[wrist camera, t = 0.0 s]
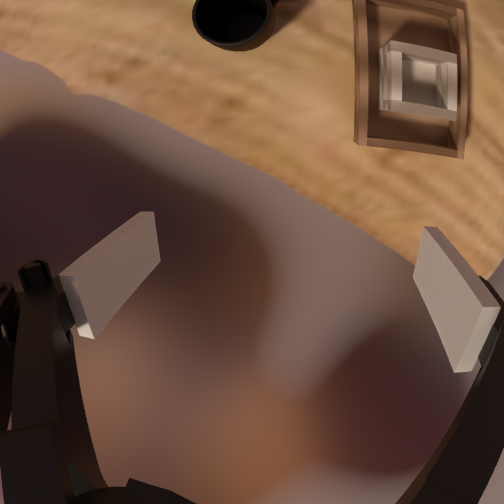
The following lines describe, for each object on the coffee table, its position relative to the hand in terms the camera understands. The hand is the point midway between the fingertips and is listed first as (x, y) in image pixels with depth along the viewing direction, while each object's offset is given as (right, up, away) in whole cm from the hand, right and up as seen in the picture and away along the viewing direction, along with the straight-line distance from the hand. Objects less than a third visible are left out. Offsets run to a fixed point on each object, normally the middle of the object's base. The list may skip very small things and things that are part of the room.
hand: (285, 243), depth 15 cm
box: (+18, +22, +17) cm, 33 cm away
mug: (-1, +29, +18) cm, 34 cm away
